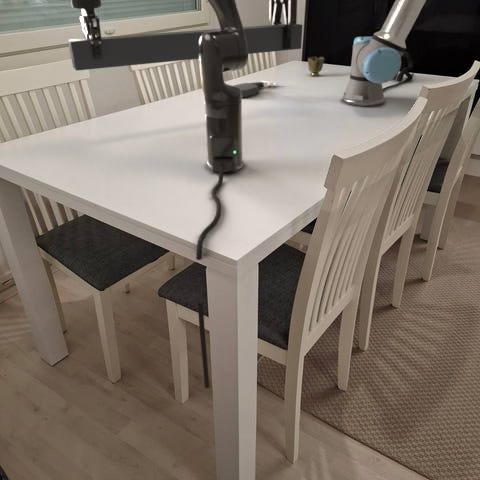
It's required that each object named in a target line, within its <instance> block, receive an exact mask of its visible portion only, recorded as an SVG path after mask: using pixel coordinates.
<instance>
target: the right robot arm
mask: <svg viewBox="0 0 480 480" xmlns="http://www.w3.org/2000/svg"><path fill="white" fill-rule="evenodd" d="M426 1H427V0H395V1H394V2H393V5H392V7H391V9H390V11H389V13H388V15H387V16H386V19H385V21H384V23H383V25H382V27H381V29H380V30H379V31H375V32H374V33H373V35H372V36H356V37H355V38H354V40H353V45H352V52H351V53H352V55H351V64H350V73H349V74H350V75H349V80H348V83H347V85H346V87H345V90H344V92H343V95H342V102H343V103H345V104H347V105H350V106H357V107H376V106H379V105H382V104H383V103H384V100H385V94H384V91H386V90H388V89H391V88H394V87H397V86H400V85H403V84H405V83H406V82H408V81H410V80H409V79H408V78H407V77H406V79H404V80H402V81H400V82H398V83H395V84H391V85H388V86H385V87H383V84H385V83H388V82H390V81H392V80H394V79H393V78H394V77H395V76H396V75H397V74H399V73H400V70H401V69H400V67H401V61H402V58H403V57H402V55H403V53H404V52H406V49H407V46H406V39H407V37H408V35H409V33H410V32H411V30H412V27H413V26H414V24H415V23H416V20H417V18H418V17H419V15H420V13H421V11H422V9H423V7H424V5H425V3H426ZM268 2H269V3H268V15H269V16H268V22H269V23H271V25H280V24H283V23H282V22H281V21H282V20H281V19H282V13H283V21H284V24H285V25H283V49H287V48H291V36H292V33H291V32H292V26H293V25H296V24H297V17H298V0H269V1H268ZM410 74H411V75H412V77H413V76H414V75H415V73H414V72H412V73H410ZM397 76H398V75H397Z"/></svg>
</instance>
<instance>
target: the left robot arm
mask: <svg viewBox="0 0 480 480" xmlns="http://www.w3.org/2000/svg"><path fill="white" fill-rule="evenodd" d="M206 1H207V2H208V3H209V6H211V8H212V9H213V12H214V13H215V16H216V17H217V21H218V25H219V29H221V30H217V31H209V32H205V33H203V34H202V35H201V37H200V39H199V44H198V56H199V59H198V64H199V65H198V66H199V72H200V83H201V90H202V93H203V99H204V100H203V101H204V116H205V117H204V118H205V133H206V134H205V135H206V151H207V152H206V153H207V168H208V169H209V170H211V172H212V173H218V181H217V183H216V184H215V185H214V187H213V188H212V190H211V197H212V199H213V201H214V202H215V205H216V209H215V215H214V218H213V220H212V221H211V222H210V223H209V224H208V226H206V227H205V228H204V229H203V231H202V232H201V233H200V235H199V237H198V240H197V242H196V243H197V244H196V255H195V256H196V260H197V261H201V260H202V258H203V243H204V240H205V238H206V236H207V235H208V234H209V233H210V232H211V231H212V229H214V228H215V227H216V225H217V224H218V222H219V220H220V218H221V214H222V204H221V201H220V199H219V197H218V195H217V192H218V190H219V189H220V187H221V186H222V185H223V180H224V173H237V171H239V170H240V169H242V168H243V166H244V159H243V114H242V113H243V109H242V108H243V106H242V105H243V104H242V103H243V102H242V101H243V100H242V99H243V98H242V94H241V90H240V89H239V88H238V87H235V86H234V85H232V84H227V83H226V82H225V79H224V73H230V72H235V71H236V72H237V71H240V70H244V68H245V67H246V66H247V65H248V61H249V54H248V45H247V40H246V36H245V32H244V29H243V27H244V26H243V23H242V19H241V16H240V13H239V9H238V6H237V2H236V0H206ZM70 3H71V7H72V8H73V9H75V10H81V14H80V15H79V20H80V23H81V28H82V32H83V37H84V38H90V43H91V45H92V50H93V56H94V58H95V59H101V58H102V52H101V46H100V44H101V42H102V38H101V37H102V32H101V31H102V30H101V25H100V18H99V16H98V15H96V12H95V9H99V8H102V0H70ZM197 312H198V314H197V315H198V325H199V338H200V350H201V358H202V369H203V382H204V383H203V384H204V388H206V389H209V388H210V377H209V376H210V375H209V364H208V352H207V341H206V328H205V316H204V315H205V314H204V313H205V312H204V302H200V301H199V300H197Z"/></svg>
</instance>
